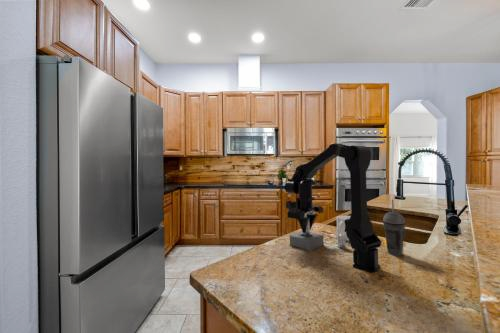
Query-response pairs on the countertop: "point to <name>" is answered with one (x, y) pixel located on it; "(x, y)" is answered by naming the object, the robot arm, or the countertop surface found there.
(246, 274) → the countertop surface
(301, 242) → the hole block
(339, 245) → the short pin
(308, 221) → the long pin
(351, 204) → the robot arm
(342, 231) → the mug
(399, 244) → the beverage cup
